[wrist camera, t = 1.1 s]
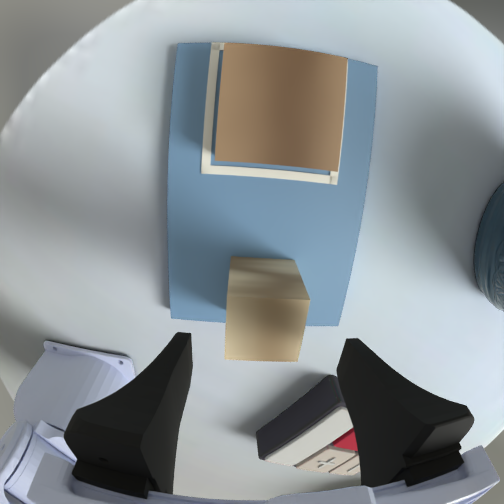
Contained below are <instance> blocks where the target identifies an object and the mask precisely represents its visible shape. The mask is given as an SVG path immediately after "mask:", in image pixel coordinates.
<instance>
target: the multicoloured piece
mask: <svg viewBox="0 0 504 504" xmlns="http://www.w3.org/2000/svg"><path fill="white" fill-rule="evenodd" d="M256 436H257V446H258V456H259V459H262V460H265V461H268V462H272V463H277V464H282V465H287V466H295V467H296V468H297V469H302V470H308V471H315V472H322V473H325V472H329V473H330V474H340V475H354V474H356V473H358V472H360V463H359V455H358V449H357V443H356V438H355V433H354V428H353V425H352V422H351V419H350V416H349V413H348V410H347V407H346V404H345V401H344V398H343V396H342V393H341V390H340V386H339V381H338V377H336V376H334V375H328V376H327V377H325V378H324V379H323V380H322V381H321V382H320V383H318V384H317V385H316V386H315V387H314V388H312V389H311V390H310V391H309V392H308V393H306V394H305V395H304V396H303V397H302V398H300V399H299V400H298V401H297V402H295V403H294V404H293V405H292V406H290V407H289V408H288V409H286V410H285V411H284V412H283V413H281V414H280V415H279V416H277V417H276V418H275V419H273V420H272V421H271V422H269V423H268V424H267V425H265V426H264V427H262V428H261V429H260V430H258V431H257V432H256Z"/></svg>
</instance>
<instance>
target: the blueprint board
mask: <svg viewBox="0 0 504 504" xmlns="http://www.w3.org/2000/svg"><path fill="white" fill-rule="evenodd" d="M243 44H244V43H243ZM257 45H258V44H257ZM278 47H279V46H278ZM286 48H287V47H286ZM294 49H295V48H294ZM301 50H302V49H301ZM307 51H308V50H307ZM223 52H224V43H219V42H212V43H178V47H177V55H176V63H175V72H174V82H173V93H172V105H171V119H170V135H169V156H168V193H167V234H168V272H169V293H170V310H171V318H172V319H183V320H195V321H208V322H222V323H226V307H227V291H228V280H229V270H230V260H231V256H237V257H253V258H270V259H286V260H295V262H296V265H297V267H298V270H299V272H300V275H301V277H302V280H303V282H304V285H305V287H306V290H307V293H308V295H309V298H310V304H309V310H308V315H307V320H306V325H305V326H338V325H339V321H340V317H341V313H342V309H343V305H344V301H345V297H346V293H347V289H348V284H349V280H350V275H351V271H352V266H353V261H354V257H355V252H356V247H357V242H358V236H359V231H360V225H361V220H362V214H363V208H364V202H365V195H366V188H367V181H368V174H369V166H370V158H371V150H372V140H373V130H374V119H375V106H376V90H377V67H378V66H375V65H371V64H367V63H364V62H360V61H355V60H351V59H348V58H347V74H346V91H345V105H344V117H343V129H342V139H341V149H340V158H339V167H338V172H335V171H327V170H319V169H311V168H302V167H292V166H282V165H271V164H259V163H245V162H229V161H215V147H216V132H217V119H218V106H219V94H220V83H221V72H222V61H223ZM313 52H314V51H313ZM319 53H320V52H319ZM344 58H345V57H344Z"/></svg>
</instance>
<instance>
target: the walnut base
mask: <svg viewBox="0 0 504 504" xmlns="http://www.w3.org/2000/svg"><path fill="white" fill-rule="evenodd" d="M346 74H347V58H344V57H340V56H335V55H330V54H325V53H319V52H313V51H307V50H301V49H294V48H286V47H278V46H269V45H257V44H243V43H224V52H223V61H222V72H221V83H220V94H219V106H218V119H217V132H216V147H215V161H229V162H245V163H259V164H271V165H282V166H292V167H302V168H311V169H319V170H327V171H335V172H338V167H339V158H340V149H341V139H342V129H343V117H344V105H345V91H346Z"/></svg>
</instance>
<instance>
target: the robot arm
mask: <svg viewBox="0 0 504 504" xmlns="http://www.w3.org/2000/svg"><path fill="white" fill-rule="evenodd" d="M43 346H44V349H45V352H44V353H43V354H42V356H41V357H40V358H39V360H38V361H37V363H36V364H35V365H34V367H33V368H32V370H31V371H30V372H29V374H28V375H27V377H26V378H25V380H24V381H23V382H22V384H21V385H20V387H19V389H18V391H17V393H16V397H15V401H14V416H15V420H16V422H14V423H13V424H12V425H11V426H10V427H9V428H8V430H7V431H6V432H5V434H4V435H3V436H2V438H1V439H0V504H472V503H473V502H474V501H476V500H477V499H478V498H480V496H482V495H483V494H485V493H486V492H487V491H488V490H490V489H491V488H492V487H493V486H494V485H496V484H497V483H498V482H499V481H500V478H499V476H498V475H497V472H496V471H495V469H494V467H493V465H492V463H491V461H490V459H489V457H488V455H487V454H486V452H485V450H484V448H483V446H482V445H480V446H478V447H476V448H473V449H471V450H469V451H467V452H465V453H463V454H462V455H460V453H459V450H460V449H461V445H460V443H459V442H460V441H461V440H462V438H463V437H464V436H465V435H466V434H467V432H468V431H469V430H470V428H471V427H472V425H473V423H474V417H473V415H472V414H471V412H470V410H469V409H468V407H467V406H466V405H462V404H459V403H455V402H452V401H449V400H446V399H444V398H441V397H439V396H436V395H434V394H432V393H430V392H428V391H426V390H424V389H422V388H420V387H419V386H417V385H415V384H414V383H412V382H411V381H409V380H407V379H406V378H404V377H403V376H402V375H400V374H399V373H398V372H396V371H395V370H394V369H393V368H391V367H390V366H389V365H388V364H386V363H385V362H384V361H383V360H382V359H381V358H380V357H378V356H377V355H376V354H375V353H374V352H373V351H372V350H371V349H370V348H369V347H367V346H366V345H365V344H364V343H363V342H362V341H361V340H359V339H358V338H351V339H346V341H345V345H344V348H343V351H342V354H341V357H340V361H339V364H338V367H337V376H338V381H339V386H340V390H341V393H342V396H343V398H344V401H345V404H346V407H347V410H348V413H349V416H350V419H351V422H352V425H353V428H354V433H355V438H356V443H357V449H358V455H359V463H360V472H361V486H353V487H347V488H341V489H334V490H327V491H319V492H309V493H297V494H289V495H282V496H278V497H275V498H272V499H269V500H258V501H250V500H221V499H207V498H196V497H188V496H180V495H173V480H174V468H175V458H176V449H177V441H178V433H179V427H180V422H181V418H182V414H183V411H184V407H185V403H186V399H187V395H188V391H189V388H190V383H191V376H192V368H193V362H192V342H191V333H183V332H177V333H176V334H175V335H174V337H173V338H172V339H171V341H170V342H169V343H168V345H167V346H166V347H165V348H164V349H163V351H162V352H161V353H160V354H159V355H158V356H157V357H156V358H155V359H154V361H153V362H152V363H151V364H150V365H149V366H147V367H146V368H145V369H144V370H143V371H142V372H141V373H140V374H139V375H138V376H137V377H136V376H135V372H134V367H133V362H132V360H131V359H130V358H129V357H126V356H120V355H114V354H108V353H103V352H97V351H92V350H87V349H82V348H77V347H73V346H68V345H64V344H59V343H55V342H51V341H45V342H44V343H43ZM120 360H121V361H122V362H121V361H120Z"/></svg>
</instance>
